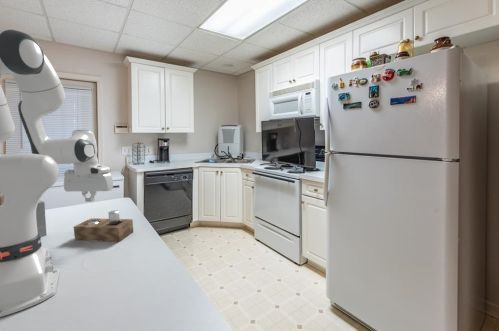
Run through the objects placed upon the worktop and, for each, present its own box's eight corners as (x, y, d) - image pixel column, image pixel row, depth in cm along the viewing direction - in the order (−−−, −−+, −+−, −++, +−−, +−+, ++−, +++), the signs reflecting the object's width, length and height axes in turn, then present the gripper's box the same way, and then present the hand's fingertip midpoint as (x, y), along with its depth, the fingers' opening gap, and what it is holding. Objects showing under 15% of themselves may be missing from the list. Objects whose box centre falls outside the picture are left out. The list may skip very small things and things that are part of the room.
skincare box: (20, 237, 110) (15, 202, 108) (40, 231, 116) (35, 198, 114) (29, 241, 106) (24, 204, 104) (49, 234, 112) (44, 200, 110)
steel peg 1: (102, 233, 112) (100, 221, 111) (95, 236, 108) (94, 224, 107) (93, 232, 112) (92, 220, 112) (86, 236, 108) (85, 224, 108)
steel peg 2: (122, 222, 110) (120, 210, 109) (116, 226, 106) (115, 213, 105) (113, 222, 110) (112, 210, 110) (107, 225, 106) (106, 213, 106)
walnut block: (133, 232, 113) (132, 219, 113) (119, 241, 104) (118, 227, 103) (92, 230, 116) (91, 218, 115) (75, 240, 106) (73, 226, 105)
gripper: (57, 170, 104) (61, 203, 105) (104, 169, 102) (107, 203, 103) (70, 168, 110) (73, 199, 112) (114, 167, 108) (116, 199, 109)
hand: (90, 201), depth 107 cm, fingers closed
